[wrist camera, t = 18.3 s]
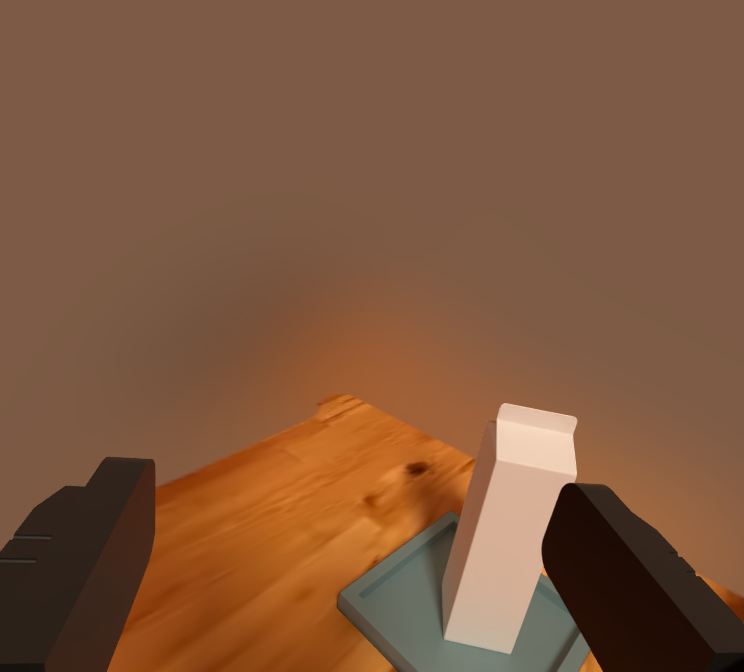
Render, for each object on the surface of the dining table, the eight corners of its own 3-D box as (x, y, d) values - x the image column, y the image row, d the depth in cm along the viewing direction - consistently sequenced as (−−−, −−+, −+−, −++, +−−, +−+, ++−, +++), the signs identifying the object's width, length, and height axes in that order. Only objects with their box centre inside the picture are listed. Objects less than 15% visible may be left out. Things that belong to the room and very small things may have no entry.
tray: (336, 607, 43) (339, 592, 42) (447, 522, 56) (450, 510, 55) (514, 791, 32) (521, 774, 31) (600, 632, 45) (606, 618, 44)
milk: (441, 584, 46) (494, 385, 39) (501, 597, 46) (567, 399, 39) (442, 642, 41) (506, 420, 33) (512, 657, 40) (591, 437, 33)
